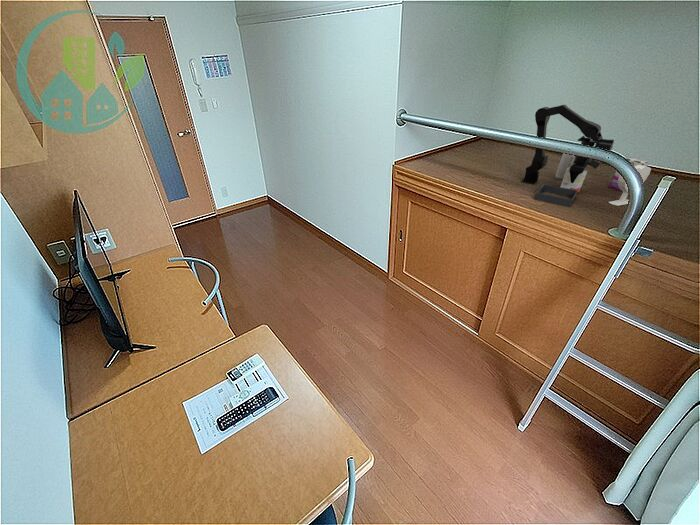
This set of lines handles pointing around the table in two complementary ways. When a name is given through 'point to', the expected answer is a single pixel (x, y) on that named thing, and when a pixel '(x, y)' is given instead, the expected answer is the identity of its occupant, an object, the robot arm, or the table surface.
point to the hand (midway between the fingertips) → (573, 180)
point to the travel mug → (564, 165)
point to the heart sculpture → (622, 184)
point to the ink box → (577, 183)
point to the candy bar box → (616, 176)
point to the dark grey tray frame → (553, 198)
